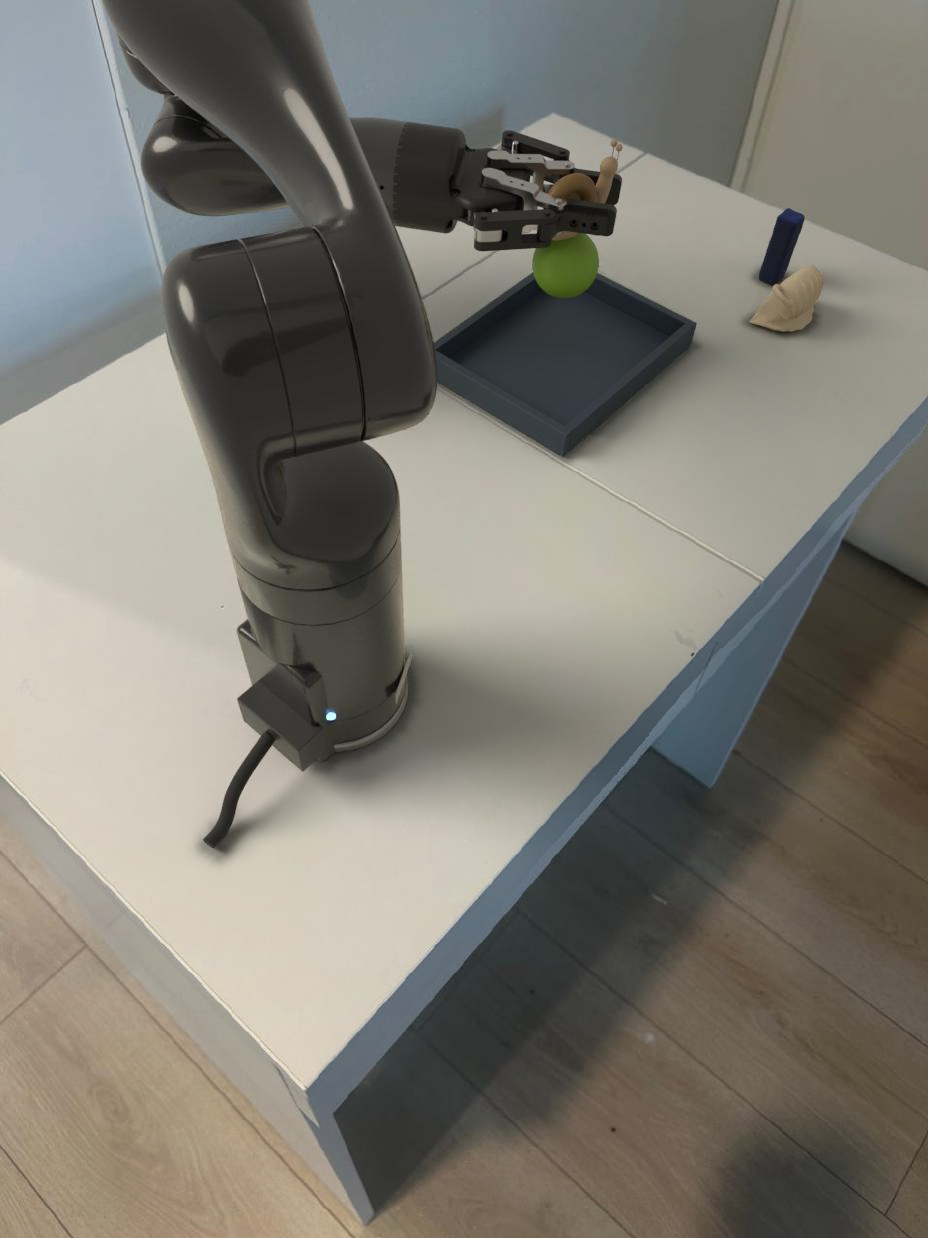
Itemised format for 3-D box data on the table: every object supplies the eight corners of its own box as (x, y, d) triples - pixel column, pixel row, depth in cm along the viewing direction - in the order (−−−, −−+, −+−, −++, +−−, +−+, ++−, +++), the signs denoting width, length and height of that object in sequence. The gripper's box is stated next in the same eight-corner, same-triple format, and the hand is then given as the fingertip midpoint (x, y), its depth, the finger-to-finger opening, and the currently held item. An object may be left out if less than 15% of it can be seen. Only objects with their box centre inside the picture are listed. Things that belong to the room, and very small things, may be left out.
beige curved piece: (825, 313, 90) (845, 263, 86) (772, 349, 87) (790, 299, 83) (790, 293, 92) (808, 243, 88) (737, 327, 89) (753, 277, 84)
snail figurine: (616, 296, 79) (641, 158, 69) (552, 319, 77) (568, 181, 68) (580, 260, 82) (599, 123, 72) (517, 283, 80) (528, 144, 70)
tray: (562, 457, 78) (566, 435, 76) (422, 372, 84) (422, 349, 82) (691, 345, 87) (697, 322, 85) (556, 275, 93) (559, 252, 91)
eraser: (766, 268, 94) (787, 205, 89) (786, 278, 93) (808, 214, 88) (755, 278, 93) (775, 214, 88) (774, 288, 93) (796, 224, 87)
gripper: (376, 176, 67) (618, 210, 66) (419, 82, 75) (634, 111, 74) (380, 269, 73) (600, 302, 72) (418, 173, 81) (617, 201, 80)
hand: (616, 205), depth 73 cm, fingers closed on snail figurine, 3 cm apart
